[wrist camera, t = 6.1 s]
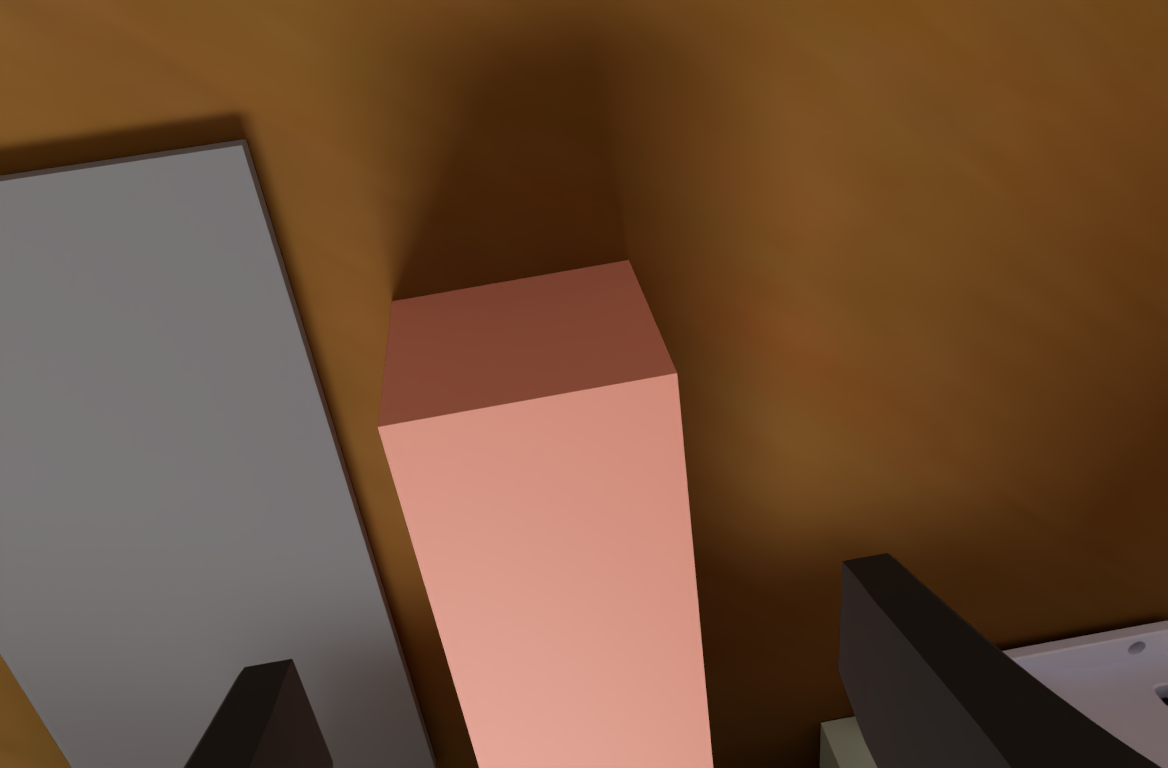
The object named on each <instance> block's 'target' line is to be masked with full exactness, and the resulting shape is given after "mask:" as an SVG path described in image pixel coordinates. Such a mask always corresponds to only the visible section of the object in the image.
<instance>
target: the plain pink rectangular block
mask: <svg viewBox="0 0 1168 768" xmlns="http://www.w3.org/2000/svg"><path fill="white" fill-rule="evenodd" d="M378 429H379V433H380V436H381V439H382V443H383V446H384V450H385V453H386V456H387V460H388V463H389V466H390V470H391V473H392V476H393V480H394V483H395V486H396V490H397V493H398V497H399V500H400V503H401V507H402V510H403V513H404V517H405V520H406V523H407V527H408V530H409V534H410V537H411V540H412V544H413V547H414V550H415V554H416V557H417V560H418V564H419V567H420V570H421V574H422V577H423V581H424V584H425V587H426V591H427V594H428V597H429V601H430V604H431V607H432V611H433V614H434V618H435V621H436V624H437V628H438V631H439V634H440V638H441V641H442V644H443V648H444V651H445V654H446V658H447V661H448V665H449V668H450V671H451V675H452V678H453V681H454V685H455V688H456V691H457V695H458V698H459V702H460V705H461V708H462V712H463V715H464V718H465V722H466V725H467V728H468V732H469V735H470V738H471V742H472V745H473V749H474V752H475V755H476V759H477V762H478V765H479V768H713V759H712V748H711V737H710V727H709V716H708V705H707V694H706V683H705V672H704V661H703V650H702V639H701V628H700V617H699V606H698V595H697V584H696V573H695V562H694V551H693V541H692V530H691V519H690V508H689V497H688V486H687V475H686V464H685V453H684V442H683V431H682V420H681V409H680V398H679V387H678V376H677V371H676V369H675V367H674V364H673V362H672V360H671V357H670V355H669V353H668V350H667V348H666V346H665V343H664V341H663V339H662V336H661V334H660V332H659V329H658V327H657V325H656V322H655V320H654V318H653V315H652V313H651V311H650V308H649V306H648V304H647V301H646V299H645V297H644V294H643V292H642V290H641V287H640V285H639V283H638V280H637V278H636V276H635V273H634V271H633V269H632V266H631V264H630V262H629V260H626V261H620V262H614V263H609V264H603V265H597V266H591V267H586V268H580V269H574V270H569V271H563V272H557V273H551V274H546V275H540V276H534V277H528V278H523V279H517V280H511V281H506V282H500V283H494V284H488V285H483V286H477V287H471V288H466V289H460V290H454V291H448V292H443V293H437V294H431V295H426V296H420V297H414V298H408V299H403V300H397V301H392V303H391V312H390V321H389V330H388V339H387V348H386V357H385V366H384V375H383V385H382V394H381V403H380V412H379V421H378Z"/></svg>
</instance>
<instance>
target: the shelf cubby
mask: <svg viewBox="0 0 1168 768" xmlns="http://www.w3.org/2000/svg"><path fill="white" fill-rule="evenodd" d="M820 768H877V766H876V764H875V762H874V760H873V758H872V756H871V753H870V751H869V749H868V747H867V745H866V743H865V741H864V738H863V736H862V733H861V730H860V728H859V725H858V723H857V720H856V717H855V716H854V717H849V718H843V719H838V720H833V721H827V722H822V723H821V737H820Z"/></svg>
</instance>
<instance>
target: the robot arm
mask: <svg viewBox="0 0 1168 768" xmlns="http://www.w3.org/2000/svg"><path fill="white" fill-rule="evenodd" d="M838 670H839V673H840V676H841V679H842V682H843V684H844V687H845V690H846V693H847V695H848V698H849V701H850V704H851V707H852V709H853V712H854V715H855V717H856V720H857V723H858V725H859V728H860V730H861V733H862V736H863V738H864V741H865V743H866V745H867V747H868V749H869V751H870V753H871V756H872V758H873V760H874V762H875V764H876V766H877V768H1168V621H1161V622H1156V623H1150V624H1145V625H1139V626H1134V627H1129V628H1123V629H1118V630H1112V631H1107V632H1102V633H1096V634H1091V635H1085V636H1080V637H1074V638H1069V639H1064V640H1058V641H1053V642H1047V643H1042V644H1037V645H1031V646H1026V647H1020V648H1015V649H1009V650H1004V651H1001V650H1000V649H999V648H997V647H996V646H995V645H994V644H992V643H991V642H990V641H989V640H988V639H986V638H985V637H984V636H983V635H982V634H980V633H979V632H978V631H977V630H976V629H975V628H973V627H972V626H971V625H970V624H969V623H967V622H966V621H965V620H964V619H963V618H962V617H961V616H959V615H958V614H957V613H956V612H955V611H954V610H952V609H951V608H950V607H949V606H948V605H947V604H946V603H944V602H943V601H942V600H941V599H940V598H939V597H938V596H936V595H935V594H934V593H933V592H932V591H931V590H930V589H929V588H927V587H926V586H925V585H924V584H923V583H922V582H921V581H920V580H918V579H917V578H916V577H915V576H914V575H913V574H912V573H911V572H909V571H908V570H907V569H906V568H905V567H904V566H903V565H902V564H900V563H899V562H898V561H897V560H896V559H895V558H893V557H892V556H891V555H889V554H888V553H887V554H881V555H875V556H870V557H864V558H858V559H853V560H847V561H843V563H842V587H841V612H840V637H839V662H838ZM184 768H333V760H332V758H331V755H330V753H329V750H328V747H327V745H326V742H325V740H324V737H323V735H322V732H321V730H320V727H319V725H318V722H317V720H316V717H315V715H314V712H313V710H312V707H311V704H310V702H309V699H308V697H307V694H306V692H305V689H304V687H303V684H302V682H301V679H300V677H299V674H298V672H297V669H296V667H295V664H294V661H293V659H287V660H282V661H276V662H271V663H265V664H259V665H254V666H248V667H244V668H243V670H242V671H241V672H240V673H239V675H238V676H237V678H236V680H235V681H234V683H233V685H232V687H231V688H230V690H229V692H228V693H227V695H226V697H225V699H224V700H223V702H222V704H221V705H220V707H219V709H218V711H217V712H216V714H215V716H214V717H213V719H212V721H211V723H210V724H209V726H208V728H207V729H206V731H205V733H204V734H203V736H202V738H201V739H200V741H199V743H198V744H197V746H196V748H195V749H194V751H193V753H192V754H191V756H190V758H189V759H188V761H187V763H186V764H185V766H184Z"/></svg>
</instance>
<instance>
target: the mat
mask: <svg viewBox="0 0 1168 768" xmlns="http://www.w3.org/2000/svg"><path fill="white" fill-rule="evenodd" d="M0 654H1V656H2V658H3V659H4V661H5V662H6V664H7V665H8V667H9V669H10V670H11V672H12V673H13V675H14V677H15V678H16V680H17V681H18V683H19V685H20V686H21V688H22V689H23V691H24V693H25V694H26V696H27V697H28V699H29V701H30V702H31V704H32V705H33V707H34V708H35V710H36V712H37V713H38V715H39V716H40V718H41V720H42V721H43V723H44V724H45V726H46V728H47V729H48V731H49V732H50V734H51V736H52V737H53V739H54V740H55V742H56V744H57V745H58V747H59V748H60V750H61V751H62V753H63V755H64V756H65V758H66V759H67V761H68V763H69V764H70V766H71V767H72V768H184V766H185V764H186V763H187V761H188V759H189V758H190V756H191V754H192V753H193V751H194V749H195V748H196V746H197V744H198V743H199V741H200V739H201V738H202V736H203V734H204V733H205V731H206V729H207V728H208V726H209V724H210V723H211V721H212V719H213V717H214V716H215V714H216V712H217V711H218V709H219V707H220V705H221V704H222V702H223V700H224V699H225V697H226V695H227V693H228V692H229V690H230V688H231V687H232V685H233V683H234V681H235V680H236V678H237V676H238V675H239V673H240V672H241V671H242V670H243V668H244V667H248V666H254V665H259V664H265V663H271V662H276V661H282V660H287V659H293V661H294V664H295V667H296V669H297V672H298V674H299V677H300V679H301V682H302V684H303V687H304V689H305V692H306V694H307V697H308V699H309V702H310V704H311V707H312V710H313V712H314V715H315V717H316V720H317V722H318V725H319V727H320V730H321V732H322V735H323V737H324V740H325V742H326V745H327V747H328V750H329V753H330V755H331V758H332V760H333V768H436V758H435V755H434V752H433V749H432V745H431V742H430V739H429V735H428V732H427V729H426V726H425V722H424V719H423V716H422V713H421V709H420V706H419V703H418V700H417V696H416V693H415V690H414V686H413V683H412V680H411V677H410V673H409V670H408V667H407V664H406V660H405V657H404V654H403V651H402V647H401V644H400V641H399V637H398V634H397V631H396V628H395V624H394V621H393V618H392V615H391V611H390V608H389V605H388V602H387V598H386V595H385V592H384V588H383V585H382V582H381V579H380V575H379V572H378V569H377V566H376V562H375V559H374V556H373V552H372V549H371V546H370V543H369V539H368V536H367V533H366V530H365V526H364V523H363V520H362V517H361V513H360V510H359V507H358V503H357V500H356V497H355V494H354V490H353V487H352V484H351V481H350V477H349V474H348V471H347V468H346V464H345V461H344V458H343V454H342V451H341V448H340V445H339V441H338V438H337V435H336V432H335V428H334V425H333V422H332V419H331V415H330V412H329V409H328V405H327V402H326V399H325V396H324V392H323V389H322V386H321V383H320V379H319V376H318V373H317V370H316V366H315V363H314V360H313V356H312V353H311V350H310V347H309V343H308V340H307V337H306V334H305V330H304V327H303V324H302V320H301V317H300V314H299V311H298V307H297V304H296V301H295V298H294V294H293V291H292V288H291V285H290V281H289V278H288V275H287V271H286V268H285V265H284V262H283V258H282V255H281V252H280V249H279V245H278V242H277V239H276V236H275V232H274V229H273V226H272V222H271V219H270V216H269V213H268V209H267V206H266V203H265V200H264V196H263V193H262V190H261V187H260V183H259V180H258V177H257V173H256V170H255V167H254V164H253V160H252V157H251V154H250V151H249V147H248V144H247V141H246V139H242V140H236V141H229V142H222V143H216V144H209V145H202V146H195V147H189V148H182V149H175V150H169V151H162V152H155V153H148V154H142V155H135V156H128V157H122V158H115V159H108V160H101V161H95V162H88V163H81V164H75V165H68V166H61V167H54V168H48V169H41V170H34V171H28V172H21V173H14V174H7V175H1V176H0Z"/></svg>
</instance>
